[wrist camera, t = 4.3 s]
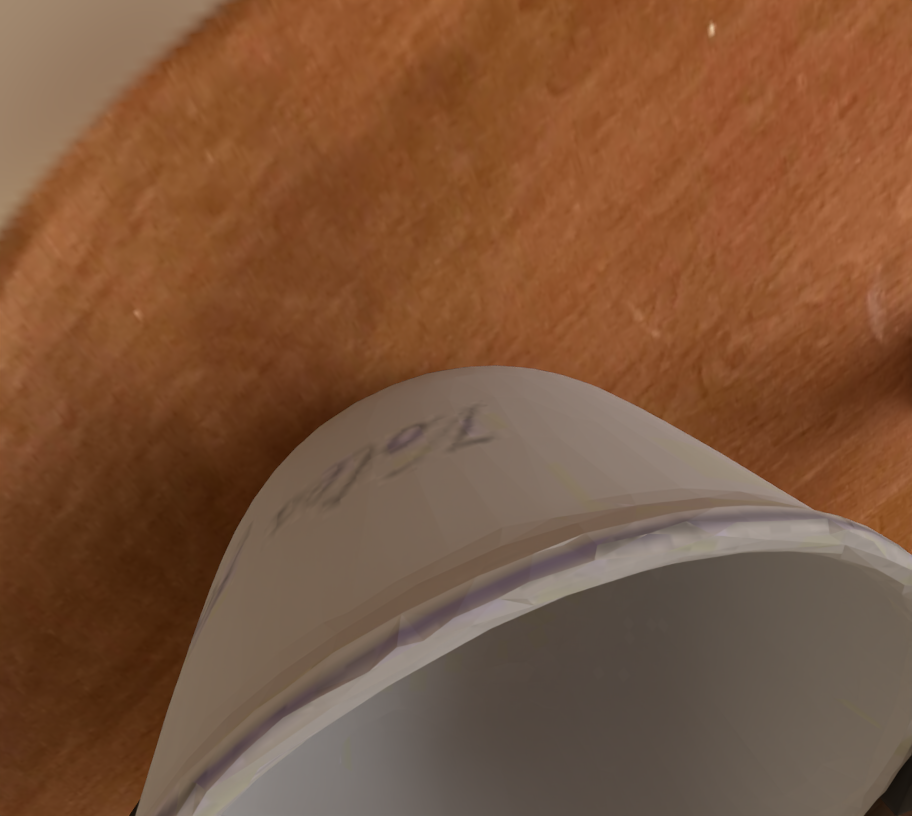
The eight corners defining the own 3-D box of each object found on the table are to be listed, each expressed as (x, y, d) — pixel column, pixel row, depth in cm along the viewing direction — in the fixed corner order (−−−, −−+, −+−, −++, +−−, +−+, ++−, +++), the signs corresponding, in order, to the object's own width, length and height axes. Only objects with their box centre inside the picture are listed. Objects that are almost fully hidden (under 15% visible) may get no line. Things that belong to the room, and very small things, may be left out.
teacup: (356, 232, 9) (380, 294, 2) (705, 421, 13) (1145, 675, 6) (154, 697, 13) (-107, 1339, 5) (476, 735, 16) (573, 1136, 9)
